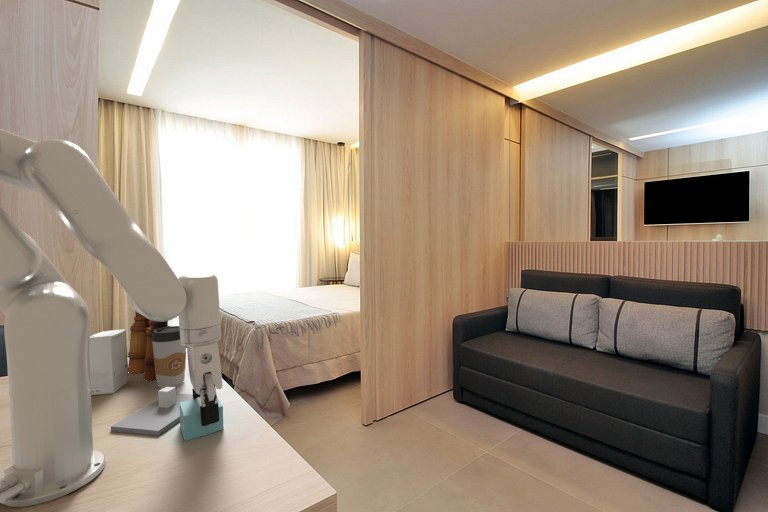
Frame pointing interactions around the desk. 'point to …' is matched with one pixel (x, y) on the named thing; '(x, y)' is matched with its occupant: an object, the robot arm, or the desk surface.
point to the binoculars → (143, 346)
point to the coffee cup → (168, 357)
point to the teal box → (197, 420)
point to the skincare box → (108, 361)
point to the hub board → (155, 414)
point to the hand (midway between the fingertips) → (205, 413)
